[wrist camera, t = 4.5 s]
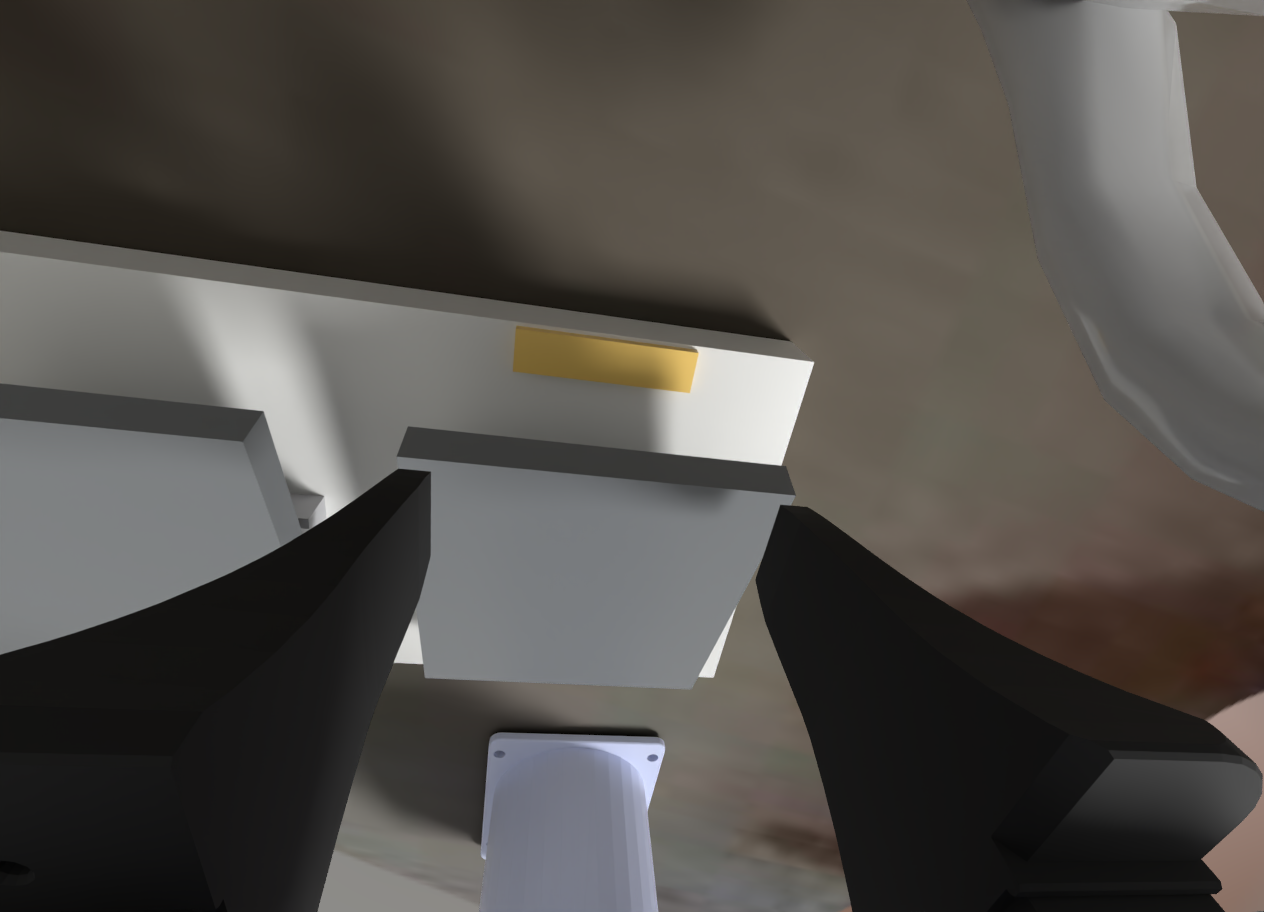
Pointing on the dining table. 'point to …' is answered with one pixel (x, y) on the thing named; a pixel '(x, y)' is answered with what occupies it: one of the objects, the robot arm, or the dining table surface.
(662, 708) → the dining table surface
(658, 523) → the rocker
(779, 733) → the dining table surface
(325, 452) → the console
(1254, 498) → the chamber pot
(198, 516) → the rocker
